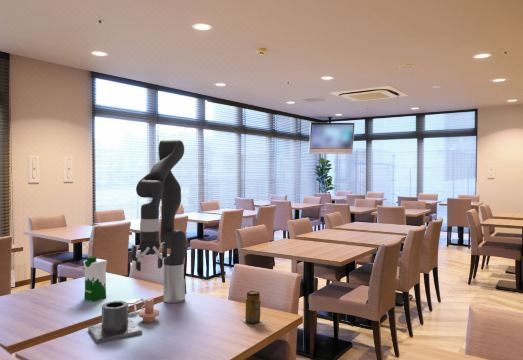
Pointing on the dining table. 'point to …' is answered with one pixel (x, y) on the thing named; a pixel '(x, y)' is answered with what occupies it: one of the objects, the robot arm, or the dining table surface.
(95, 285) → the milk carton
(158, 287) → the dining table surface
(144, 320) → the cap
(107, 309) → the flanged pipe socket
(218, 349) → the dining table surface
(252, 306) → the condiment
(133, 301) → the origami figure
